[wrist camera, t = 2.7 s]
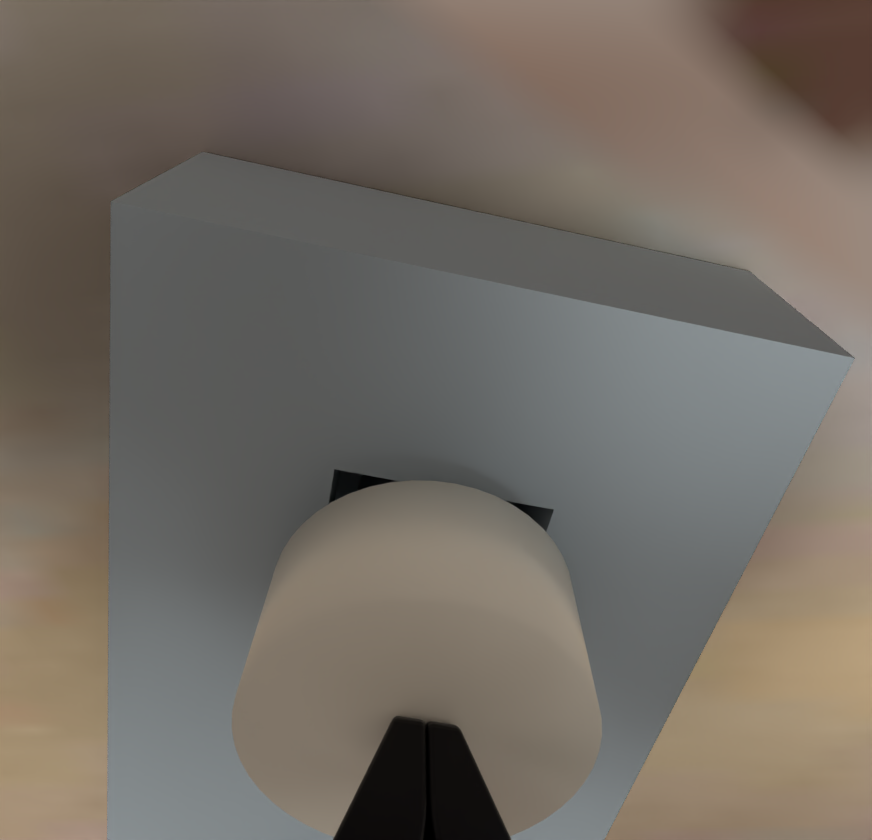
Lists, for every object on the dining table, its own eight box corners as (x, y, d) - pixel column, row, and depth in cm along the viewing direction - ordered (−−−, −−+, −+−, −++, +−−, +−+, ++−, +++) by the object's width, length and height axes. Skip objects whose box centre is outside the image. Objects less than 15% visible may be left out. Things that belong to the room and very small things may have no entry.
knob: (581, 420, 13) (654, 636, 8) (514, 614, 15) (544, 871, 11) (320, 367, 13) (249, 566, 8) (288, 576, 15) (218, 825, 10)
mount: (749, 271, 14) (855, 358, 10) (423, 1043, 28) (420, 1193, 24) (203, 151, 13) (110, 201, 9) (150, 1011, 27) (105, 1162, 23)
